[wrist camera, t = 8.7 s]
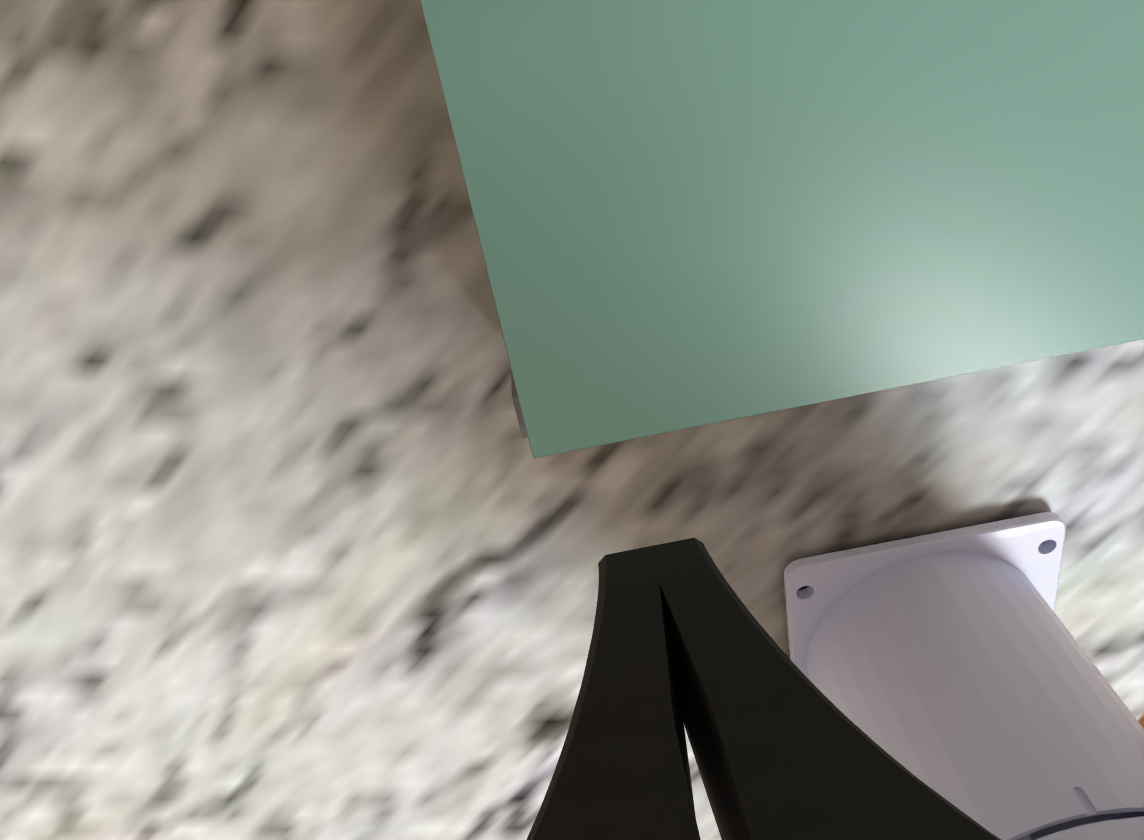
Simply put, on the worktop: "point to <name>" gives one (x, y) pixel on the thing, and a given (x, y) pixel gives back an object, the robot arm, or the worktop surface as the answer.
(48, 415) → the worktop surface
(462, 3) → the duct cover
